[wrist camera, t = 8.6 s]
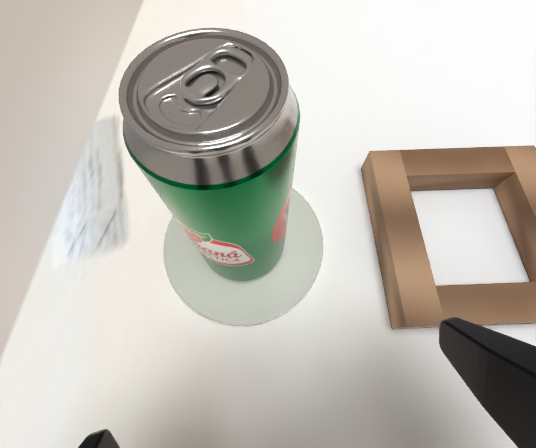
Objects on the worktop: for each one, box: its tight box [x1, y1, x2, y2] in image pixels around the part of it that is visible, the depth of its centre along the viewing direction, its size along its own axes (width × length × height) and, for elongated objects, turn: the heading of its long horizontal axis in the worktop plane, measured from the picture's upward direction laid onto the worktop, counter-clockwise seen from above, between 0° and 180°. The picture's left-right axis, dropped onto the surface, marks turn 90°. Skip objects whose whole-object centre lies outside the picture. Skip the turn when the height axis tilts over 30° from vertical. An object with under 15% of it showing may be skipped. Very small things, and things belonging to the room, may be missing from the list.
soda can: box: [119, 28, 300, 281], centre depth 13 cm, size 5×5×12 cm
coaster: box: [164, 188, 323, 326], centre depth 19 cm, size 10×10×1 cm
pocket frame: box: [361, 146, 536, 329], centre depth 18 cm, size 11×11×2 cm
